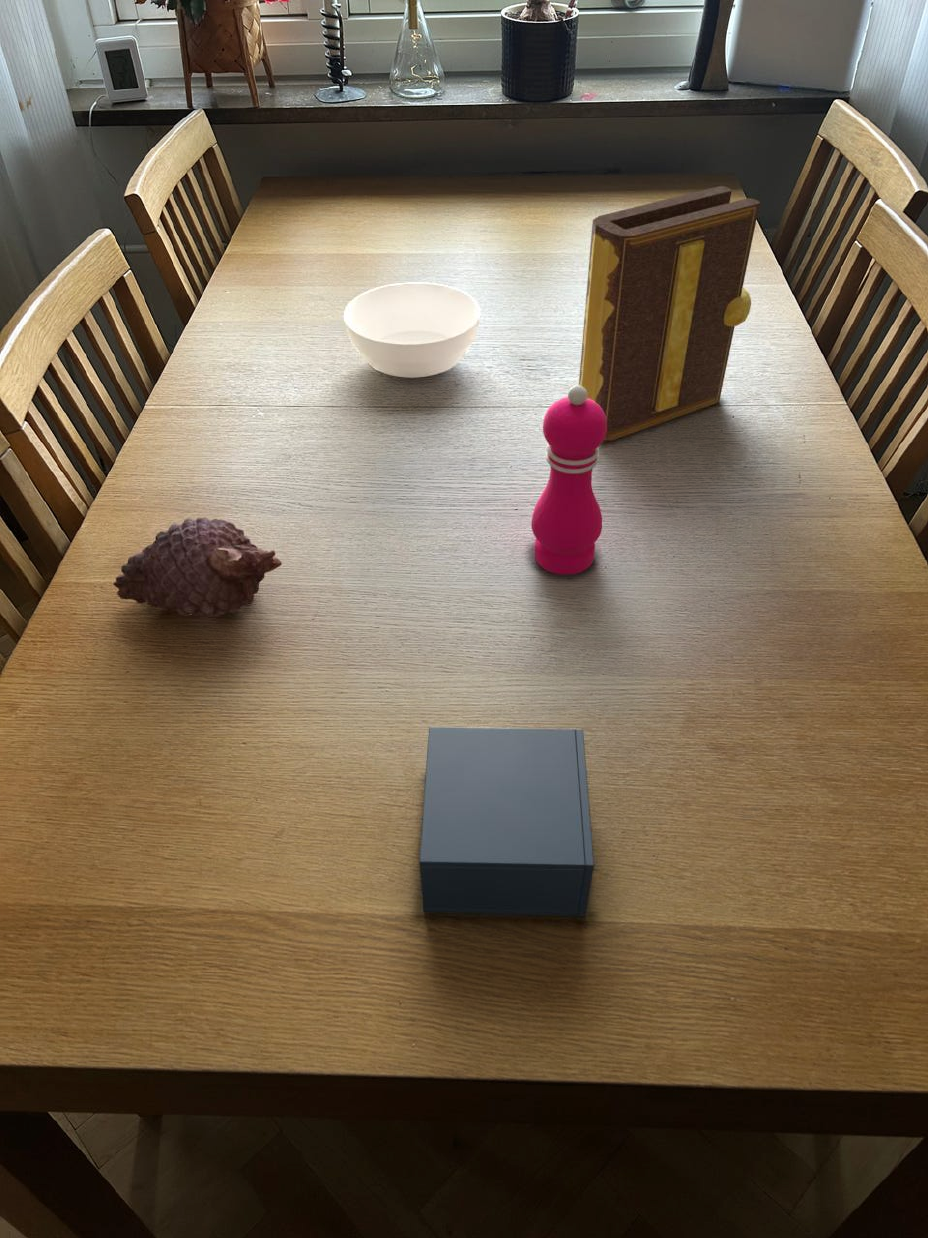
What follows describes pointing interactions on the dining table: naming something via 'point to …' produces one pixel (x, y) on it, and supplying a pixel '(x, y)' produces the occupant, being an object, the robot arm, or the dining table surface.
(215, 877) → the dining table surface
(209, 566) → the pine cone
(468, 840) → the gray box
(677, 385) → the book
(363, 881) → the dining table surface
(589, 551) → the pepper mill
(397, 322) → the bowl
